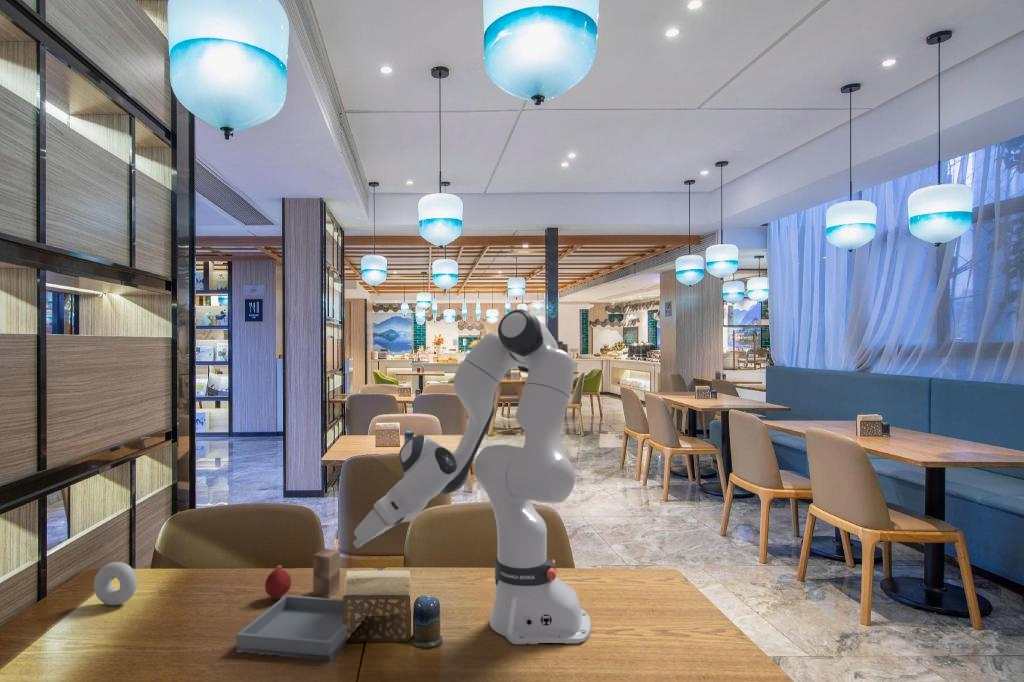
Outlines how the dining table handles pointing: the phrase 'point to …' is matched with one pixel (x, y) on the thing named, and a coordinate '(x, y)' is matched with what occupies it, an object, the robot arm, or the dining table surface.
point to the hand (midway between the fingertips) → (367, 538)
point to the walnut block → (326, 573)
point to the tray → (297, 629)
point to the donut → (105, 588)
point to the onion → (277, 583)
